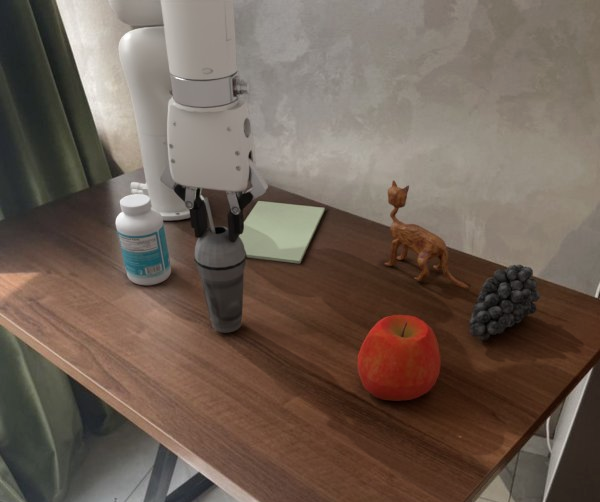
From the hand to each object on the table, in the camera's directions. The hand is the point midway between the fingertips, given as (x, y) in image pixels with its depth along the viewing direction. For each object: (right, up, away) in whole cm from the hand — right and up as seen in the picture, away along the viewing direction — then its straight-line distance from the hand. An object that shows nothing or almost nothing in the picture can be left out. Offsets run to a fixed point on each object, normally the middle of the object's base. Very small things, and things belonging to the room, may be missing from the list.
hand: (218, 233), depth 81 cm
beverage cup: (0, -11, +10) cm, 15 cm away
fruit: (+41, -11, +12) cm, 44 cm away
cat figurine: (+32, -1, +23) cm, 39 cm away
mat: (+7, +10, +34) cm, 36 cm away
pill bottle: (-15, -1, +22) cm, 26 cm away
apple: (+24, -21, +1) cm, 32 cm away
